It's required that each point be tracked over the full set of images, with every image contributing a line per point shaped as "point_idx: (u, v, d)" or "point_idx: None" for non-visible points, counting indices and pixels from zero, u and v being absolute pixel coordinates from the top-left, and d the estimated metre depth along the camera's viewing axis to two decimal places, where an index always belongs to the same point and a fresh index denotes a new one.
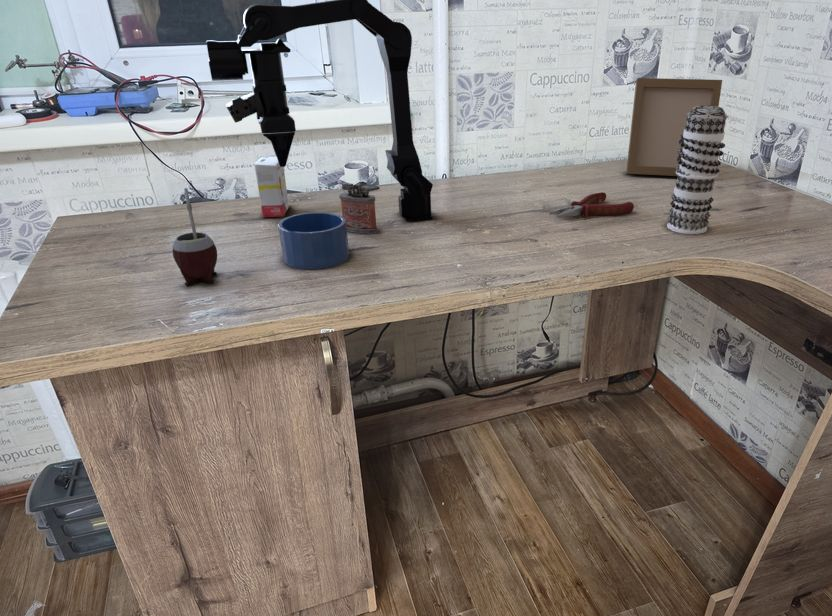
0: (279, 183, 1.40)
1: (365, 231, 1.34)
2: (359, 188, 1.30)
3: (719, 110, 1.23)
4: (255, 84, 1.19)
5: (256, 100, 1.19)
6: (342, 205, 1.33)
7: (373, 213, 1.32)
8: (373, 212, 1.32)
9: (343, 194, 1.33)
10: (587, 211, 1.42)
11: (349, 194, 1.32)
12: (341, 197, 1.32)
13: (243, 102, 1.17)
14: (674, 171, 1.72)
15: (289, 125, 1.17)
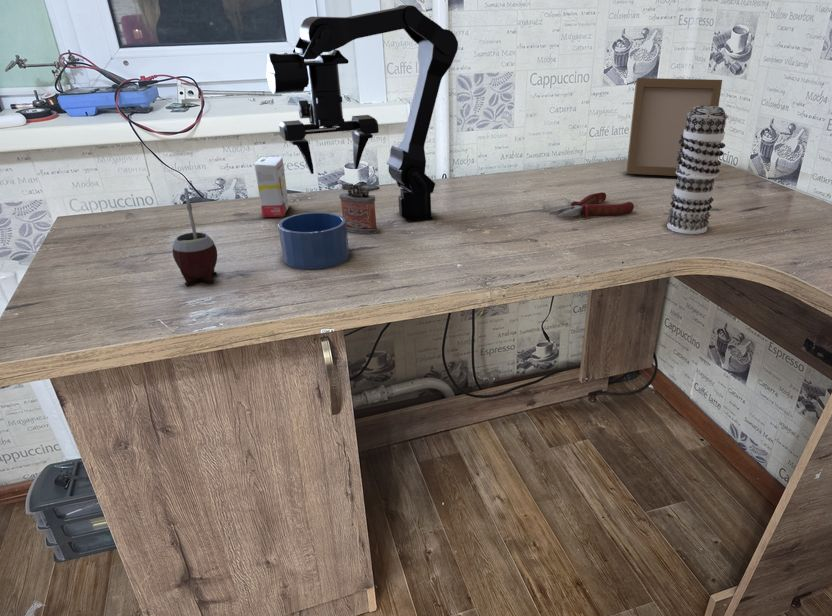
0: (279, 183, 1.40)
1: (365, 231, 1.34)
2: (359, 188, 1.30)
3: (719, 110, 1.23)
4: None
5: (310, 107, 1.24)
6: (342, 205, 1.33)
7: (373, 213, 1.32)
8: (373, 212, 1.32)
9: (343, 194, 1.33)
10: (587, 211, 1.42)
11: (349, 194, 1.32)
12: (341, 197, 1.32)
13: (299, 106, 1.26)
14: (674, 171, 1.72)
15: (284, 134, 1.20)
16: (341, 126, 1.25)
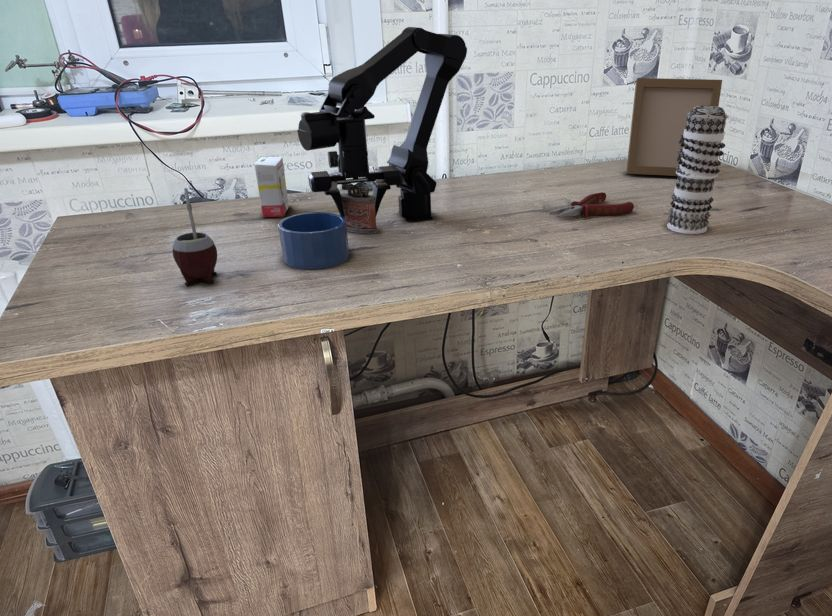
0: (279, 183, 1.40)
1: (365, 231, 1.33)
2: (359, 188, 1.30)
3: (719, 110, 1.23)
4: None
5: (338, 158, 1.30)
6: None
7: (373, 213, 1.32)
8: (373, 212, 1.32)
9: (343, 194, 1.33)
10: (587, 211, 1.42)
11: (349, 194, 1.32)
12: (341, 197, 1.32)
13: (329, 156, 1.31)
14: (674, 171, 1.72)
15: (311, 185, 1.26)
16: (360, 178, 1.30)
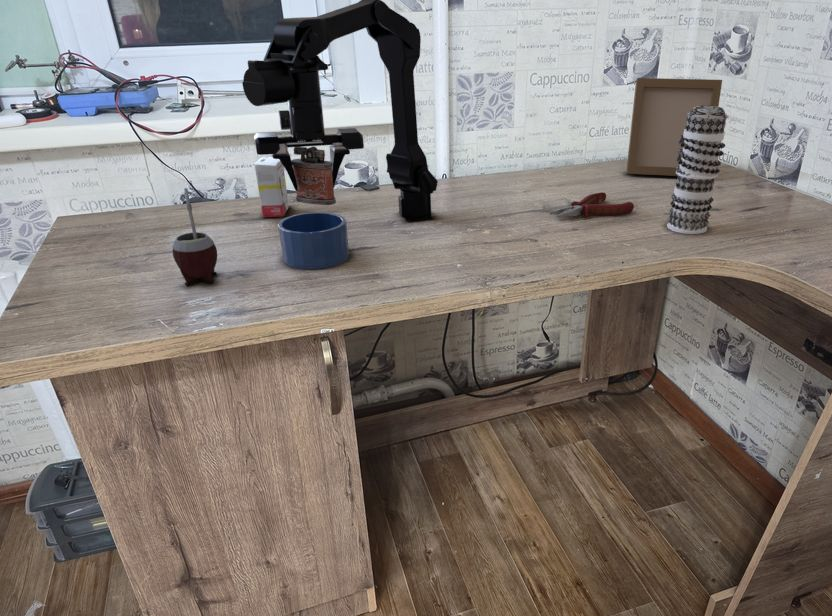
0: (279, 183, 1.40)
1: (321, 202, 1.16)
2: (313, 152, 1.13)
3: (719, 110, 1.23)
4: None
5: (289, 118, 1.13)
6: (295, 172, 1.16)
7: (330, 181, 1.15)
8: (330, 180, 1.15)
9: (296, 160, 1.16)
10: (587, 211, 1.42)
11: (302, 159, 1.15)
12: (293, 163, 1.15)
13: (279, 116, 1.14)
14: (674, 171, 1.72)
15: (256, 147, 1.09)
16: None
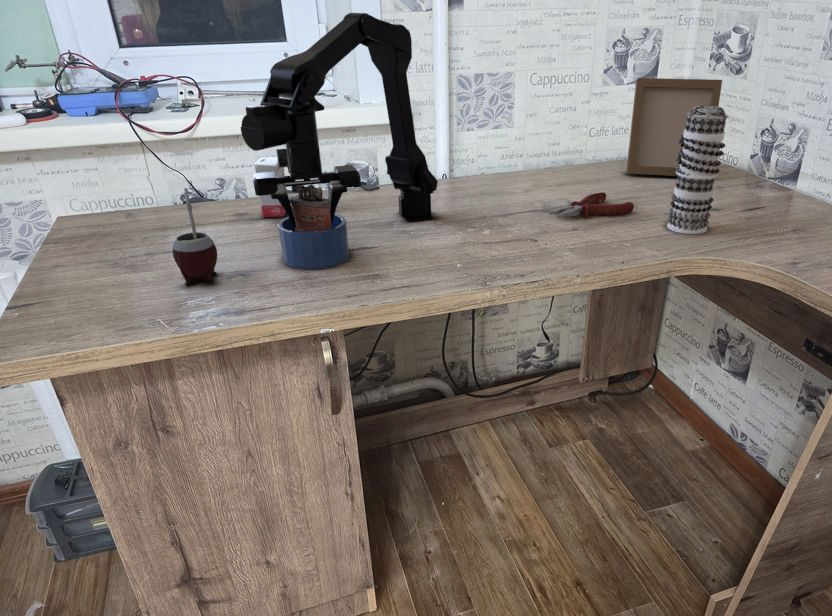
0: None
1: None
2: (311, 191, 1.14)
3: (719, 110, 1.23)
4: None
5: (287, 157, 1.14)
6: (293, 210, 1.17)
7: (328, 219, 1.16)
8: (328, 218, 1.16)
9: (294, 197, 1.17)
10: (587, 211, 1.42)
11: (300, 197, 1.16)
12: (291, 201, 1.16)
13: (277, 155, 1.16)
14: (674, 171, 1.72)
15: (254, 188, 1.10)
16: (313, 179, 1.14)
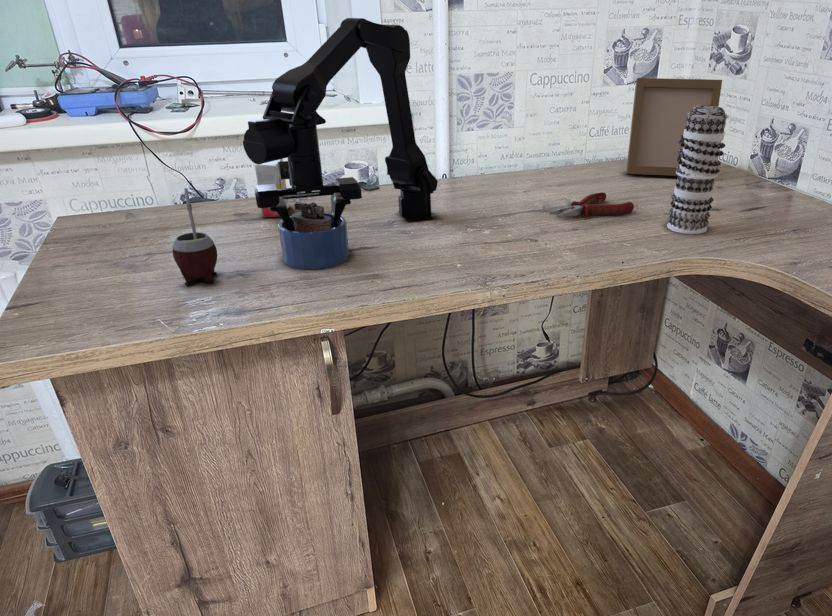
0: (279, 183, 1.40)
1: None
2: (312, 208, 1.16)
3: (719, 110, 1.23)
4: None
5: (288, 169, 1.15)
6: (295, 226, 1.19)
7: None
8: None
9: (296, 214, 1.19)
10: (587, 211, 1.42)
11: (302, 215, 1.18)
12: (294, 218, 1.18)
13: (279, 167, 1.17)
14: (674, 171, 1.72)
15: (256, 200, 1.11)
16: None
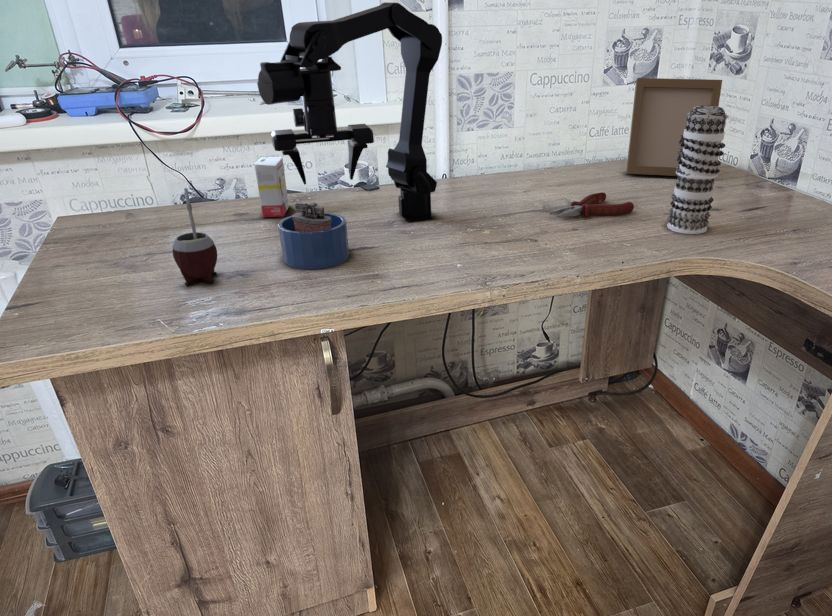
0: (279, 183, 1.40)
1: None
2: (313, 208, 1.16)
3: (719, 110, 1.23)
4: None
5: (303, 115, 1.20)
6: (295, 226, 1.19)
7: None
8: None
9: (297, 214, 1.19)
10: (587, 211, 1.42)
11: (303, 214, 1.18)
12: (294, 218, 1.18)
13: (294, 114, 1.22)
14: (674, 171, 1.72)
15: (274, 143, 1.16)
16: (335, 135, 1.21)
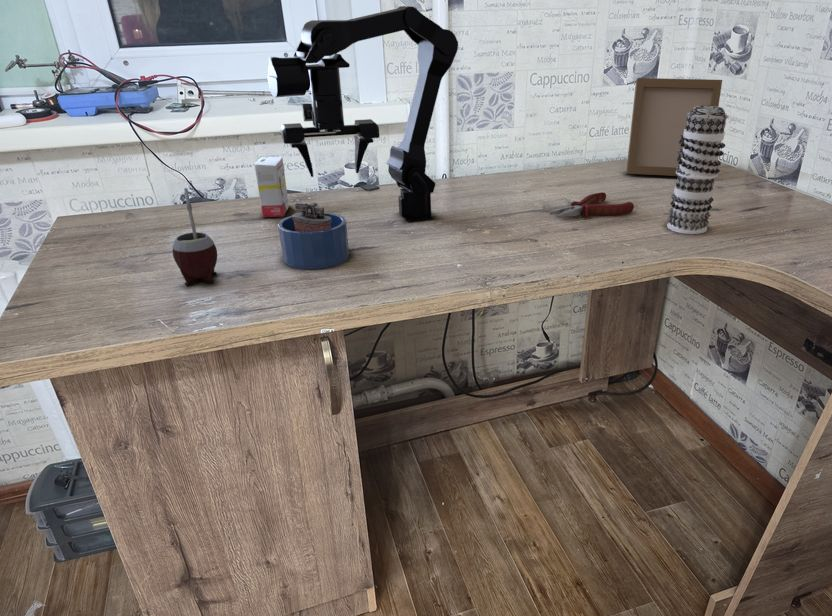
0: (279, 183, 1.40)
1: None
2: (313, 208, 1.16)
3: (719, 110, 1.23)
4: None
5: (312, 110, 1.25)
6: (295, 226, 1.19)
7: None
8: None
9: (297, 214, 1.19)
10: (587, 211, 1.42)
11: (303, 214, 1.18)
12: (294, 218, 1.18)
13: (303, 109, 1.26)
14: (674, 171, 1.72)
15: (283, 136, 1.21)
16: (342, 130, 1.25)
